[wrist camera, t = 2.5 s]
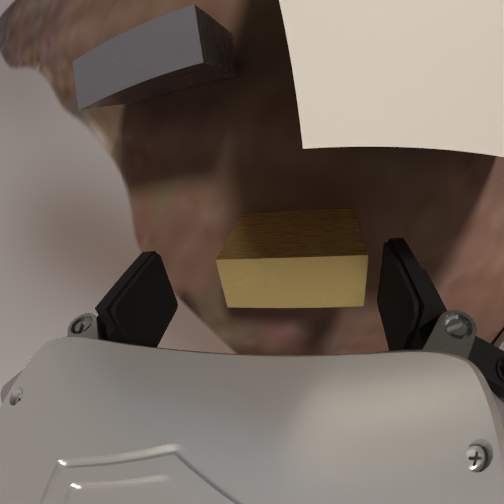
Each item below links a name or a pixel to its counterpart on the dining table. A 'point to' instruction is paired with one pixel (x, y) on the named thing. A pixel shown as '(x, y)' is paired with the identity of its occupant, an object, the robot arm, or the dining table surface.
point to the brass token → (294, 260)
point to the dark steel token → (155, 60)
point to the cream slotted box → (398, 73)
